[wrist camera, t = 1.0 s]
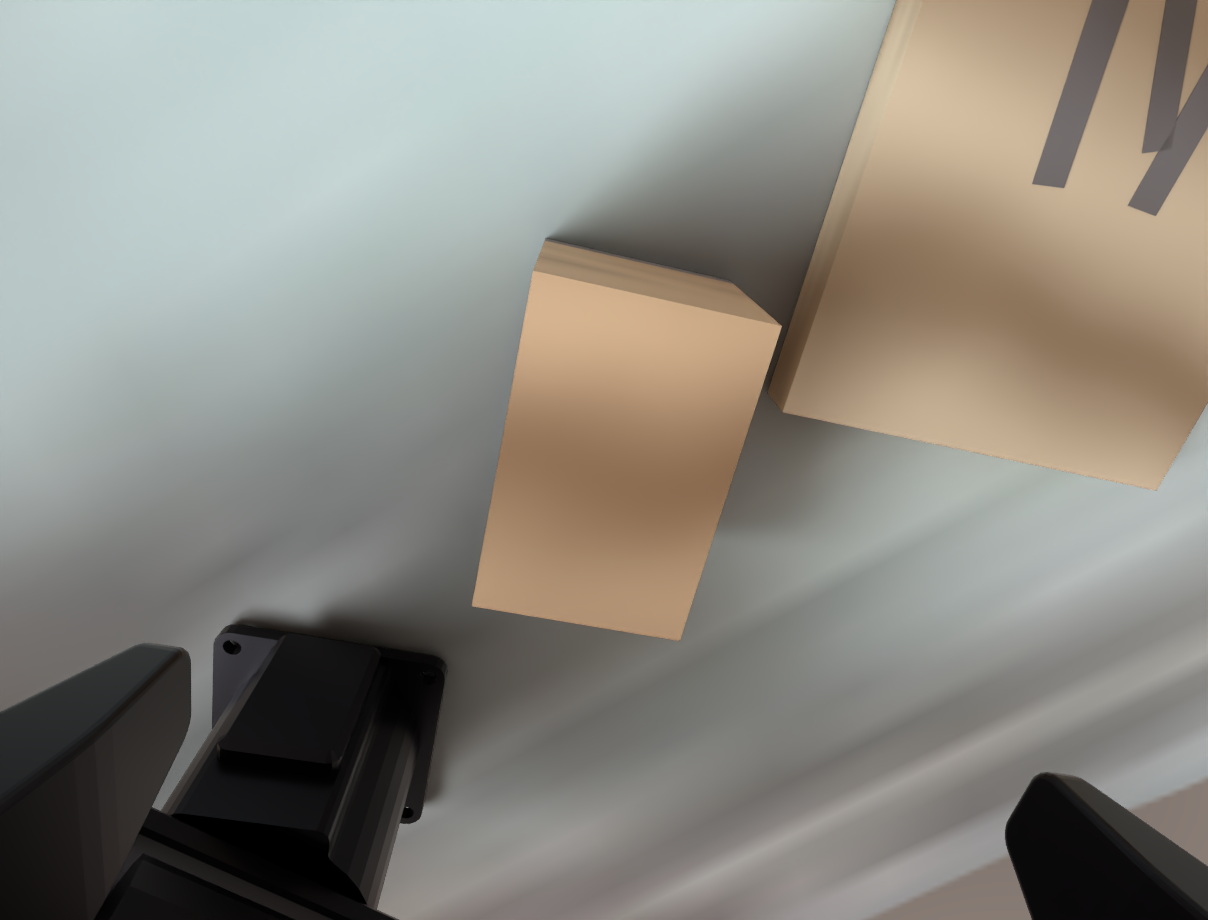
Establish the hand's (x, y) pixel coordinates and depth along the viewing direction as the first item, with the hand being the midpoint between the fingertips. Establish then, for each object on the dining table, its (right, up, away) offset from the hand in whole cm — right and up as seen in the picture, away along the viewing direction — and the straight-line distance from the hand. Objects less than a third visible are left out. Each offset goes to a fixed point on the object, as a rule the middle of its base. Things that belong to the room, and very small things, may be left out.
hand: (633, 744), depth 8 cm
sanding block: (0, +5, +11) cm, 12 cm away
